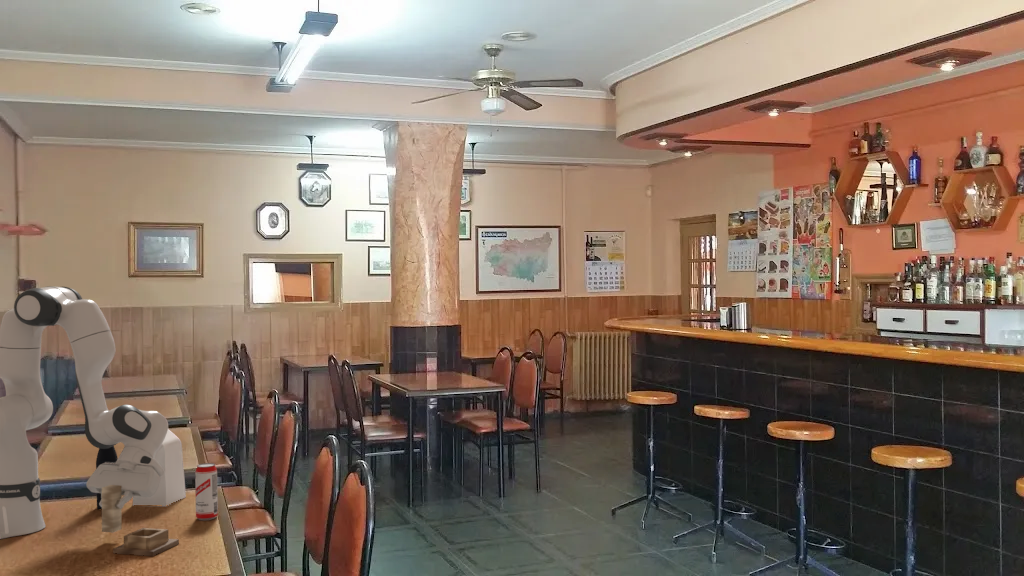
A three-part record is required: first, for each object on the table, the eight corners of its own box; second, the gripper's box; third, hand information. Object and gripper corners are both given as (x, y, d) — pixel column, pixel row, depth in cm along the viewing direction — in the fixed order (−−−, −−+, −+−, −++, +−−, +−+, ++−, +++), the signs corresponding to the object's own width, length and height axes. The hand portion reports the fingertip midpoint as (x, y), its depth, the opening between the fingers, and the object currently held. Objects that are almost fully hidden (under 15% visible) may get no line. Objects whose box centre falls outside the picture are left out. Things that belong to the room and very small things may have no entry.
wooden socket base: (113, 553, 237) (112, 537, 237) (140, 541, 248) (139, 525, 248) (153, 556, 234) (153, 540, 234) (178, 543, 245) (178, 528, 245)
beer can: (211, 521, 267) (210, 467, 267) (191, 520, 268) (190, 466, 268) (222, 515, 273) (221, 463, 273) (203, 515, 274) (202, 462, 274)
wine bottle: (98, 505, 287) (96, 411, 287) (120, 503, 289) (118, 410, 289) (95, 510, 281) (93, 414, 281) (117, 508, 283) (115, 413, 283)
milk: (166, 506, 286) (164, 424, 285) (132, 505, 287) (131, 423, 287) (185, 497, 297) (184, 418, 297) (153, 496, 299) (151, 417, 299)
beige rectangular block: (101, 531, 247) (101, 487, 246) (110, 528, 250) (110, 484, 250) (112, 532, 246) (113, 488, 246) (121, 529, 249) (121, 485, 249)
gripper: (96, 455, 257) (71, 497, 248) (159, 459, 252) (137, 503, 243) (106, 467, 261) (83, 510, 252) (169, 472, 256) (147, 515, 247)
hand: (110, 506), depth 247 cm, fingers closed on beige rectangular block, 3 cm apart
